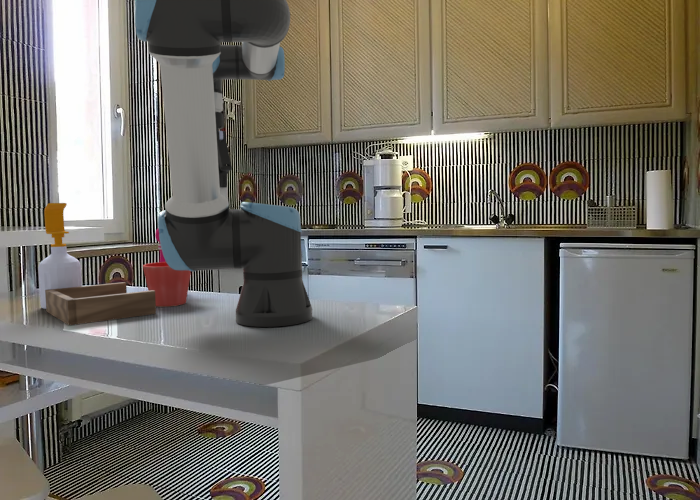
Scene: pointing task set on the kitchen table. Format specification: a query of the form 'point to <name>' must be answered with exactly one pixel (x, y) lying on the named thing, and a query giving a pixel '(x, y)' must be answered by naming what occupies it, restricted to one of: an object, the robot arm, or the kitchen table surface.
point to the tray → (98, 303)
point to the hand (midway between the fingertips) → (211, 202)
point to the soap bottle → (57, 256)
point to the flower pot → (167, 283)
